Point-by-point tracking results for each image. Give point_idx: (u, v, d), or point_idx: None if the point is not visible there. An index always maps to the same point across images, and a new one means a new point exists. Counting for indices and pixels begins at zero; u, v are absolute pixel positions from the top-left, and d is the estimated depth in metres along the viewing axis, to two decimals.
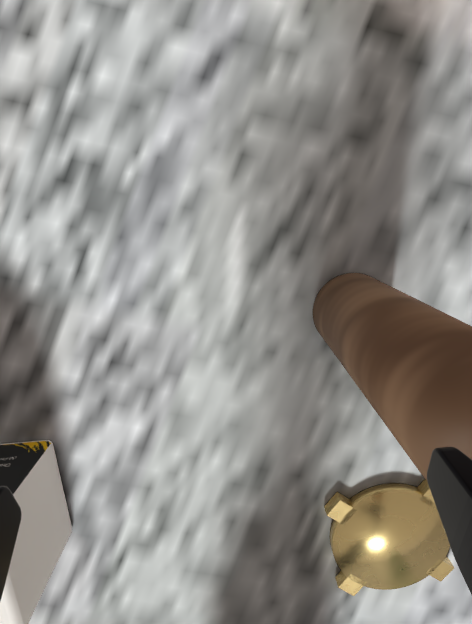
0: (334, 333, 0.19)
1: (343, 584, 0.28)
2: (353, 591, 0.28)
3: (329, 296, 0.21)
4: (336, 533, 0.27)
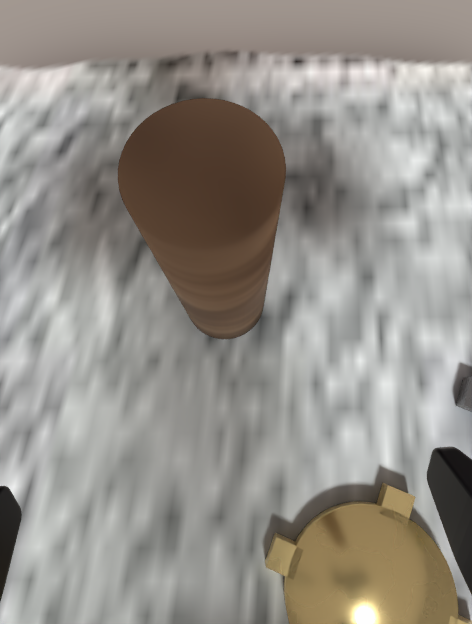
0: None
1: None
2: None
3: None
4: (287, 597, 0.19)
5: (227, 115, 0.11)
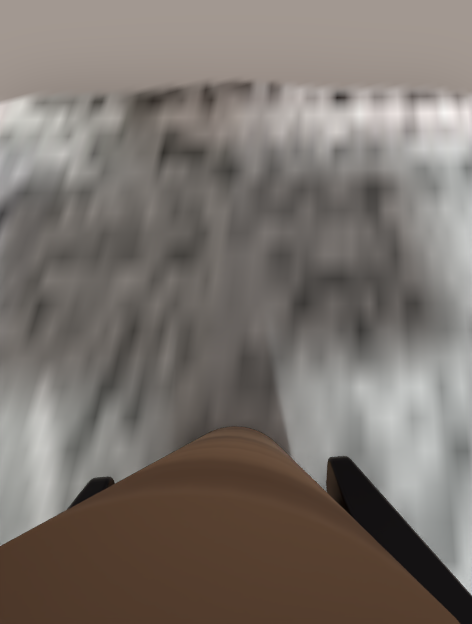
0: None
1: None
2: None
3: None
4: None
5: (298, 600, 0.02)
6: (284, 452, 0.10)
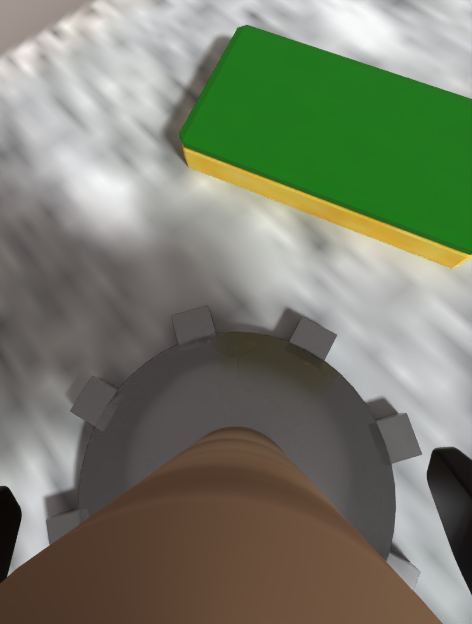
0: None
1: None
2: None
3: None
4: None
5: (296, 586, 0.03)
6: (283, 453, 0.10)
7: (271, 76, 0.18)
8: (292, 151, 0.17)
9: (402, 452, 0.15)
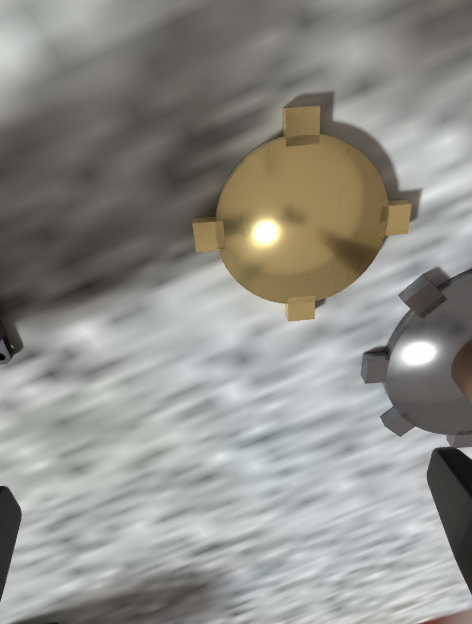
0: None
1: (201, 225, 0.18)
2: (201, 246, 0.19)
3: None
4: (266, 148, 0.17)
5: None
6: None
7: None
8: None
9: (458, 440, 0.26)
